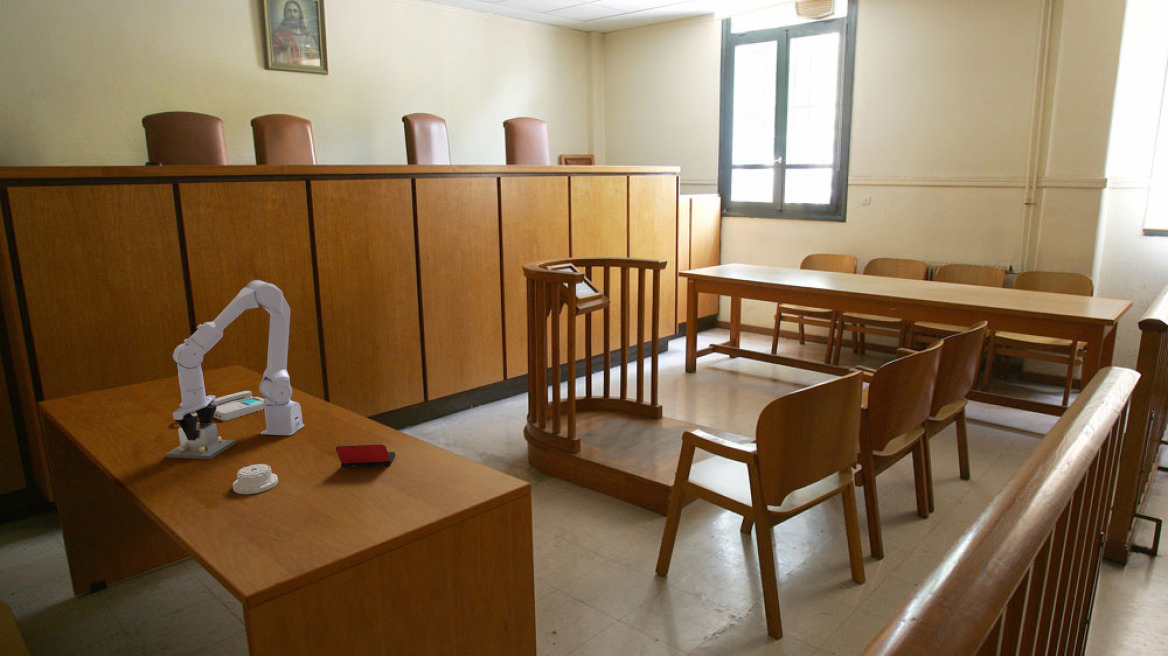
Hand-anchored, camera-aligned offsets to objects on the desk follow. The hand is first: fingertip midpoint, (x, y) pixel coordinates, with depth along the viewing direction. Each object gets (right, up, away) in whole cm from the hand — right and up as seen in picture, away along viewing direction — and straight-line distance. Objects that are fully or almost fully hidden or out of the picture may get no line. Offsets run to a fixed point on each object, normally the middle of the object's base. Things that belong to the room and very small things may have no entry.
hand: (199, 435), depth 196 cm
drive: (0, -3, +1) cm, 3 cm away
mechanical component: (+25, -9, -21) cm, 34 cm away
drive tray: (0, -4, +1) cm, 4 cm away
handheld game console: (+49, -6, -10) cm, 50 cm away
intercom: (-8, +2, +30) cm, 31 cm away
